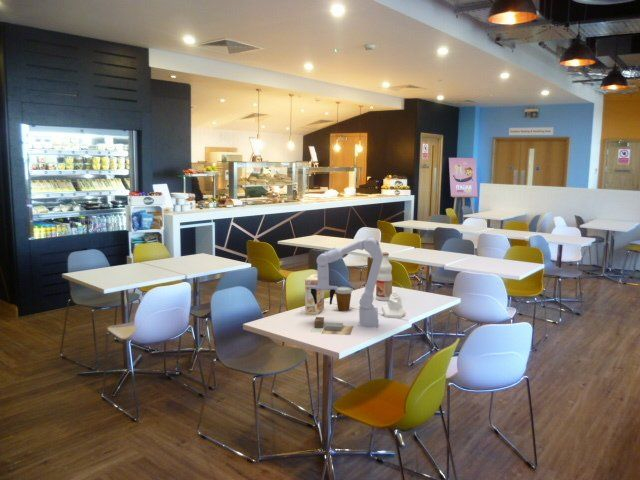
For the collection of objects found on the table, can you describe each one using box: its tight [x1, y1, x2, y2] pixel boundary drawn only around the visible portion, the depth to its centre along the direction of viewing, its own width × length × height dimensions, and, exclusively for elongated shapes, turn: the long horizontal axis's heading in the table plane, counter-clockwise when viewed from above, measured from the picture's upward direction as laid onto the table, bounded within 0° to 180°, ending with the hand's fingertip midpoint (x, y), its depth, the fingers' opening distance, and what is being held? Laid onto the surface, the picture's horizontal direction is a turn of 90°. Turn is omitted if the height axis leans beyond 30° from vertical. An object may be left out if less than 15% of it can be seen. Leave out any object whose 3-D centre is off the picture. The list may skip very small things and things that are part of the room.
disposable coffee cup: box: [335, 286, 353, 312], centre depth 295 cm, size 10×10×12 cm
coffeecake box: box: [304, 273, 325, 316], centre depth 291 cm, size 15×7×20 cm, turn 164°
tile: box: [324, 322, 344, 331], centre depth 260 cm, size 8×2×6 cm
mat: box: [320, 325, 355, 336], centre depth 259 cm, size 14×14×1 cm
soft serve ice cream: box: [381, 290, 407, 319], centre depth 284 cm, size 12×15×14 cm
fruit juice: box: [375, 252, 393, 302], centre depth 316 cm, size 9×9×28 cm
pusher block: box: [313, 316, 325, 329], centre depth 265 cm, size 4×4×7 cm
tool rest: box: [310, 328, 323, 333], centre depth 258 cm, size 5×5×1 cm
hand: (323, 303), depth 270 cm, fingers open, 7 cm apart
